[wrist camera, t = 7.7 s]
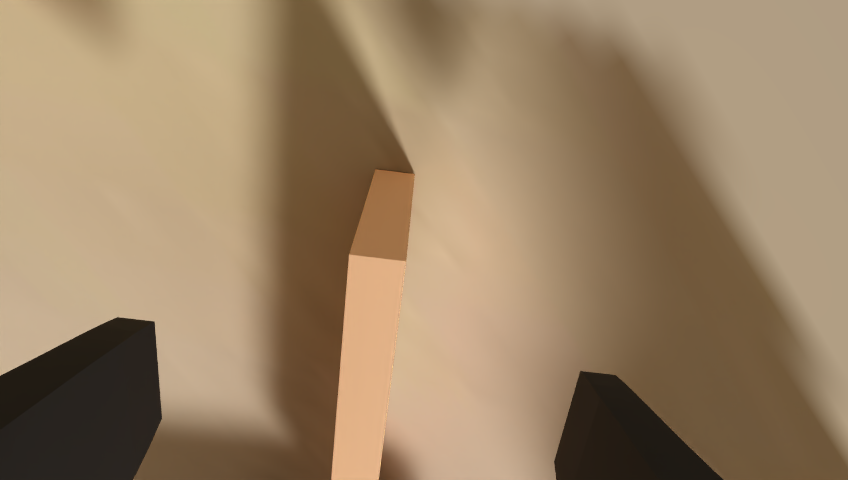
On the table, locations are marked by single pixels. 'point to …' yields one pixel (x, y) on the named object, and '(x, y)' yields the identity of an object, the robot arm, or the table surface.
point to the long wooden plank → (371, 325)
